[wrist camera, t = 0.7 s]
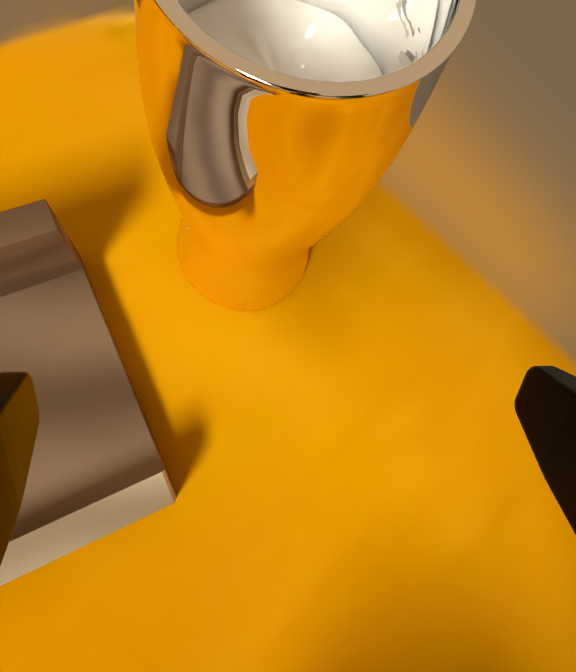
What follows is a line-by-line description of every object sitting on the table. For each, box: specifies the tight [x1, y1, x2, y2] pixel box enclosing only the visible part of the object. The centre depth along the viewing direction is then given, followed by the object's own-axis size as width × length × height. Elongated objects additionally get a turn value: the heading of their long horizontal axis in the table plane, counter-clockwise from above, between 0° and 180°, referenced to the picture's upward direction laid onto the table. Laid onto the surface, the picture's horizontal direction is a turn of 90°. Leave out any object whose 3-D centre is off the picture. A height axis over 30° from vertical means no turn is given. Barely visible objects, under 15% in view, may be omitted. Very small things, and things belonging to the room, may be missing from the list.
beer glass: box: [134, 0, 476, 310], centre depth 16 cm, size 7×7×15 cm
